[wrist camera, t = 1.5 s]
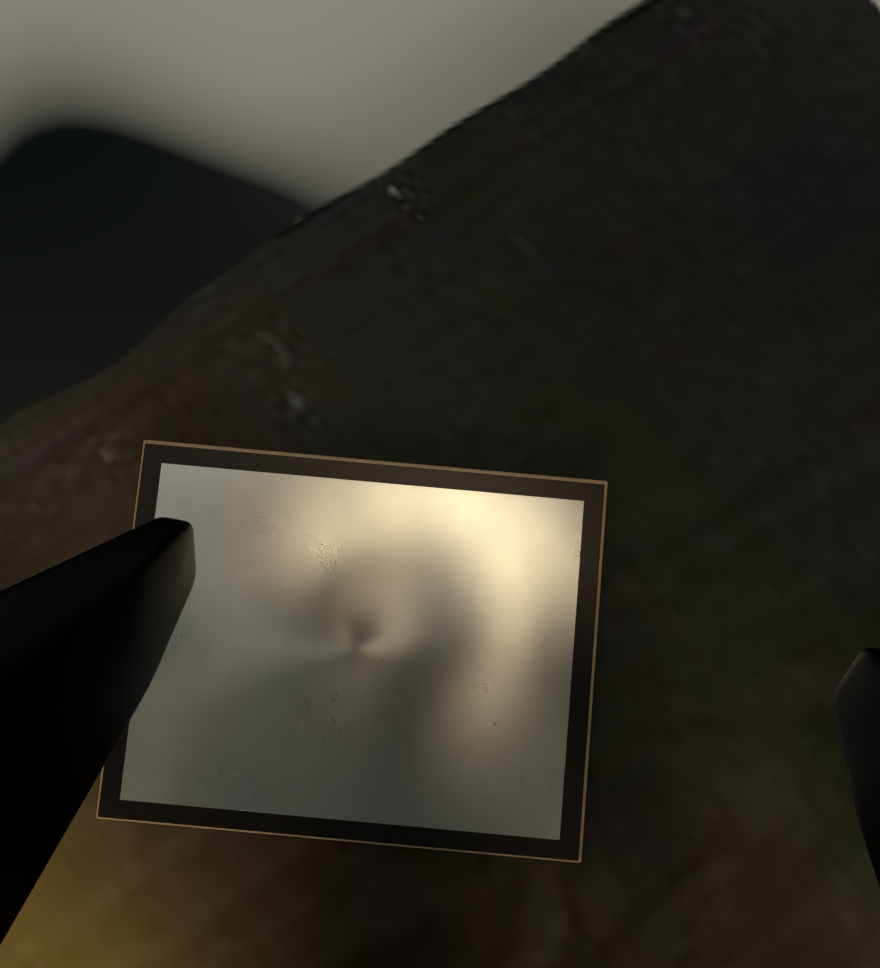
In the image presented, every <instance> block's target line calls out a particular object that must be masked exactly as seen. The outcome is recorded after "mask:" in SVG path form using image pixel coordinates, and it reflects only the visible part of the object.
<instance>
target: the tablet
mask: <svg viewBox="0 0 880 968" xmlns="http://www.w3.org/2000/svg"><path fill="white" fill-rule="evenodd" d="M607 486H608V483H607V481H601V480H590V479H579V478H567V477H556V476H545V475H534V474H523V473H512V472H500V471H489V470H478V469H467V468H456V467H445V466H433V465H422V464H411V463H400V462H389V461H378V460H366V459H355V458H344V457H333V456H322V455H311V454H299V453H288V452H277V451H266V450H255V449H244V448H232V447H221V446H210V445H199V444H188V443H177V442H166V441H154V440H144V443H143V451H142V459H141V466H140V474H139V482H138V490H137V498H136V506H135V514H134V521H133V529H135V528H137V527H139V526H141V525H143V524H145V523H147V522H150V521H152V520H154V519H156V518H159V517H167V518H173V519H178V520H184V521H188V522H189V523H190V524H191V525H192V527H193V530H194V541H195V560H196V575H195V580H194V584H193V587H192V590H191V592H190V594H189V596H188V599H187V601H186V603H185V606H184V608H183V610H182V613H181V615H180V617H179V620H178V622H177V624H176V627H175V629H174V631H173V634H172V636H171V638H170V640H169V643H168V645H167V647H166V650H165V652H164V654H163V657H162V659H161V661H160V664H159V666H158V668H157V670H156V673H155V675H154V677H153V679H152V681H151V683H150V685H149V687H148V689H147V691H146V693H145V695H144V696H143V698H142V700H141V702H140V704H139V705H138V707H137V709H136V711H135V712H134V714H133V716H132V718H131V719H130V721H129V723H128V724H127V726H126V728H125V730H124V731H123V733H122V735H121V737H120V738H119V740H118V742H117V744H116V745H115V747H114V749H113V750H112V752H111V754H110V756H109V757H108V759H107V761H106V763H105V764H104V766H103V768H102V773H101V781H100V789H99V797H98V805H97V813H96V818H97V819H108V820H119V821H130V822H141V823H152V824H162V825H173V826H184V827H195V828H206V829H217V830H228V831H239V832H249V833H260V834H271V835H282V836H293V837H304V838H315V839H326V840H337V841H347V842H358V843H369V844H380V845H391V846H402V847H413V848H424V849H434V850H445V851H456V852H467V853H478V854H489V855H500V856H511V857H522V858H532V859H543V860H554V861H565V862H576V863H580V862H581V860H582V846H583V832H584V817H585V803H586V789H587V774H588V760H589V745H590V731H591V717H592V702H593V688H594V673H595V659H596V645H597V630H598V616H599V601H600V587H601V573H602V558H603V544H604V529H605V515H606V501H607Z"/></svg>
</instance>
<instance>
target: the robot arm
mask: <svg viewBox="0 0 880 968" xmlns="http://www.w3.org/2000/svg"><path fill="white" fill-rule="evenodd" d="M195 575H196V560H195V541H194V530H193V527H192V525H191V524H190V523H189V522H188V521H184V520H178V519H173V518H167V517H159V518H156V519H154V520H152V521H150V522H147V523H145V524H143V525H141V526H139V527H137V528H135V529H132V530H130V531H128V532H126V533H124V534H122V535H120V536H118V537H115V538H113V539H111V540H109V541H107V542H105V543H103V544H100V545H98V546H96V547H94V548H92V549H90V550H88V551H85V552H83V553H81V554H79V555H77V556H75V557H73V558H70V559H68V560H66V561H64V562H62V563H60V564H58V565H56V566H53V567H51V568H49V569H47V570H45V571H43V572H41V573H38V574H36V575H34V576H32V577H30V578H28V579H26V580H23V581H21V582H19V583H17V584H15V585H13V586H11V587H9V588H6V589H4V590H2V591H0V945H1V943H2V941H3V939H4V938H5V936H6V934H7V932H8V931H9V929H10V927H11V925H12V924H13V922H14V920H15V919H16V917H17V915H18V913H19V912H20V910H21V908H22V906H23V905H24V903H25V901H26V899H27V898H28V896H29V894H30V893H31V891H32V889H33V887H34V886H35V884H36V882H37V880H38V879H39V877H40V875H41V873H42V872H43V870H44V868H45V867H46V865H47V863H48V861H49V860H50V858H51V856H52V854H53V853H54V851H55V849H56V847H57V846H58V844H59V842H60V841H61V839H62V837H63V835H64V834H65V832H66V830H67V828H68V827H69V825H70V823H71V822H72V820H73V818H74V816H75V815H76V813H77V811H78V809H79V808H80V806H81V804H82V802H83V801H84V799H85V797H86V796H87V794H88V792H89V790H90V789H91V787H92V785H93V783H94V782H95V780H96V778H97V776H98V775H99V773H100V771H101V770H102V768H103V766H104V764H105V763H106V761H107V759H108V757H109V756H110V754H111V752H112V750H113V749H114V747H115V745H116V744H117V742H118V740H119V738H120V737H121V735H122V733H123V731H124V730H125V728H126V726H127V724H128V723H129V721H130V719H131V718H132V716H133V714H134V712H135V711H136V709H137V707H138V705H139V704H140V702H141V700H142V698H143V696H144V695H145V693H146V691H147V689H148V687H149V685H150V683H151V681H152V679H153V677H154V675H155V673H156V670H157V668H158V666H159V664H160V661H161V659H162V657H163V654H164V652H165V650H166V647H167V645H168V643H169V640H170V638H171V636H172V634H173V631H174V629H175V627H176V624H177V622H178V620H179V617H180V615H181V613H182V610H183V608H184V606H185V603H186V601H187V599H188V596H189V594H190V592H191V590H192V587H193V584H194V580H195ZM833 706H834V712H835V716H836V721H837V726H838V731H839V735H840V740H841V745H842V749H843V754H844V759H845V763H846V768H847V773H848V777H849V782H850V787H851V791H852V796H853V800H854V804H855V809H856V813H857V817H858V820H859V823H860V827H861V830H862V834H863V837H864V840H865V843H866V846H867V849H868V852H869V855H870V858H871V862H872V865H873V868H874V871H875V874H876V877H877V880H878V883H879V886H880V649H878V648H866V649H864V650H863V651H861V652H860V653H859V654H858V656H857V657H856V659H855V660H854V662H853V663H852V665H851V666H850V668H849V669H848V671H847V672H846V674H845V675H844V677H843V678H842V680H841V681H840V683H839V684H838V686H837V688H836V690H835V693H834V698H833Z"/></svg>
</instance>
